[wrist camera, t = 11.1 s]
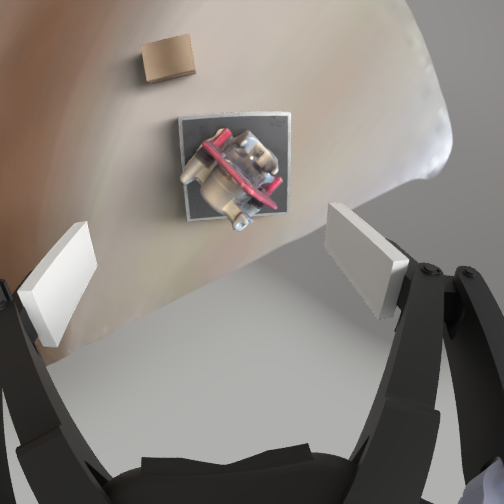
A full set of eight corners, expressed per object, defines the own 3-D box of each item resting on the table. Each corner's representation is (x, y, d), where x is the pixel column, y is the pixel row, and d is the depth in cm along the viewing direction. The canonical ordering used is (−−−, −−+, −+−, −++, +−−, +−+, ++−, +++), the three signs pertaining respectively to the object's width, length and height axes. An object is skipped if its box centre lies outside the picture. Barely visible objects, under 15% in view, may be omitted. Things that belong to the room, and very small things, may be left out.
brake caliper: (310, 162, 35) (288, 235, 29) (254, 196, 43) (223, 262, 37) (243, 97, 31) (196, 155, 24) (194, 145, 39) (148, 205, 32)
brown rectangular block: (152, 83, 34) (146, 81, 30) (147, 50, 31) (140, 45, 28) (196, 73, 34) (194, 69, 30) (190, 40, 32) (189, 33, 28)
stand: (188, 212, 43) (186, 222, 39) (180, 116, 36) (177, 116, 33) (283, 205, 44) (290, 215, 41) (284, 111, 38) (291, 112, 34)
